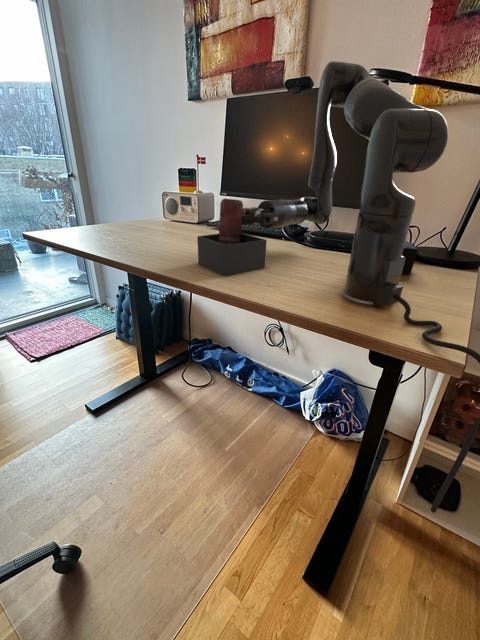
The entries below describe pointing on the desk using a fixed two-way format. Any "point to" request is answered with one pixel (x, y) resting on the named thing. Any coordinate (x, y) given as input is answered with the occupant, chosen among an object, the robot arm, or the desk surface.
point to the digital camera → (409, 257)
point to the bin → (231, 254)
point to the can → (230, 221)
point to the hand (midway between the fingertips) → (231, 218)
